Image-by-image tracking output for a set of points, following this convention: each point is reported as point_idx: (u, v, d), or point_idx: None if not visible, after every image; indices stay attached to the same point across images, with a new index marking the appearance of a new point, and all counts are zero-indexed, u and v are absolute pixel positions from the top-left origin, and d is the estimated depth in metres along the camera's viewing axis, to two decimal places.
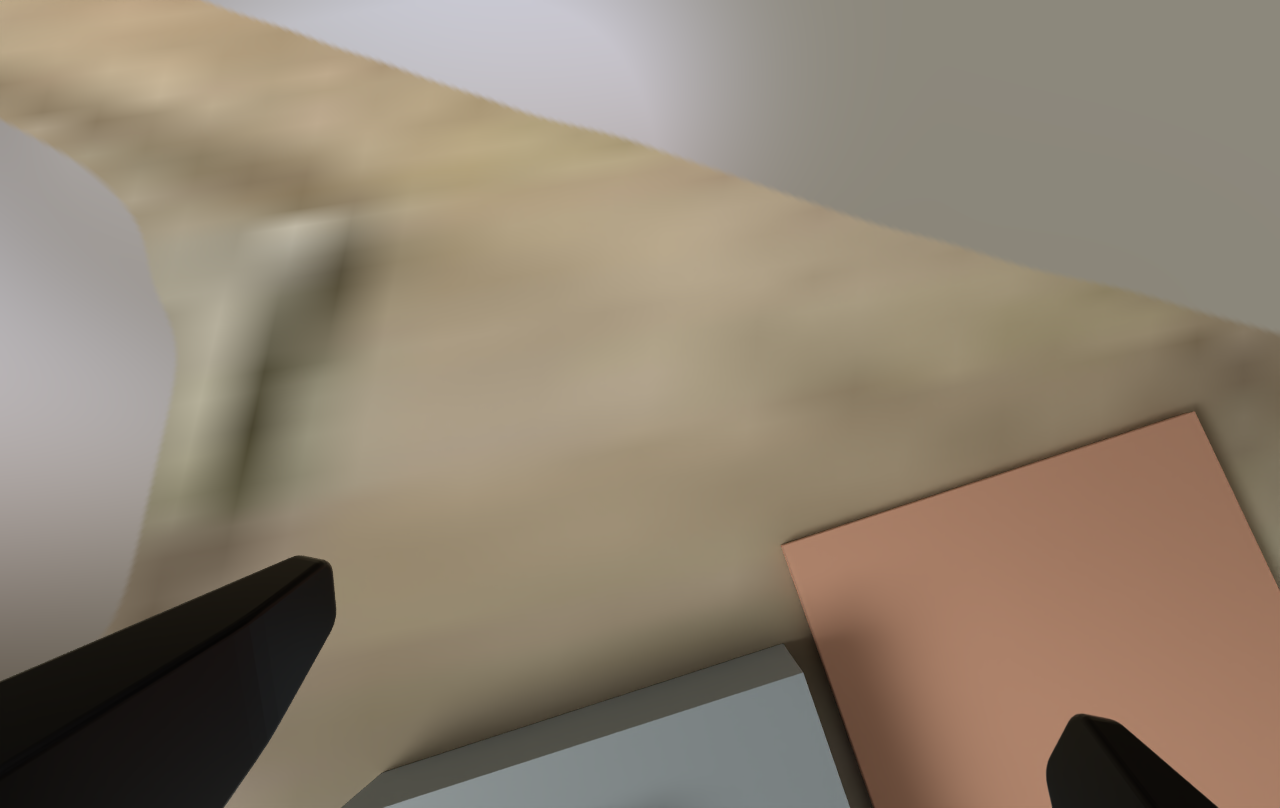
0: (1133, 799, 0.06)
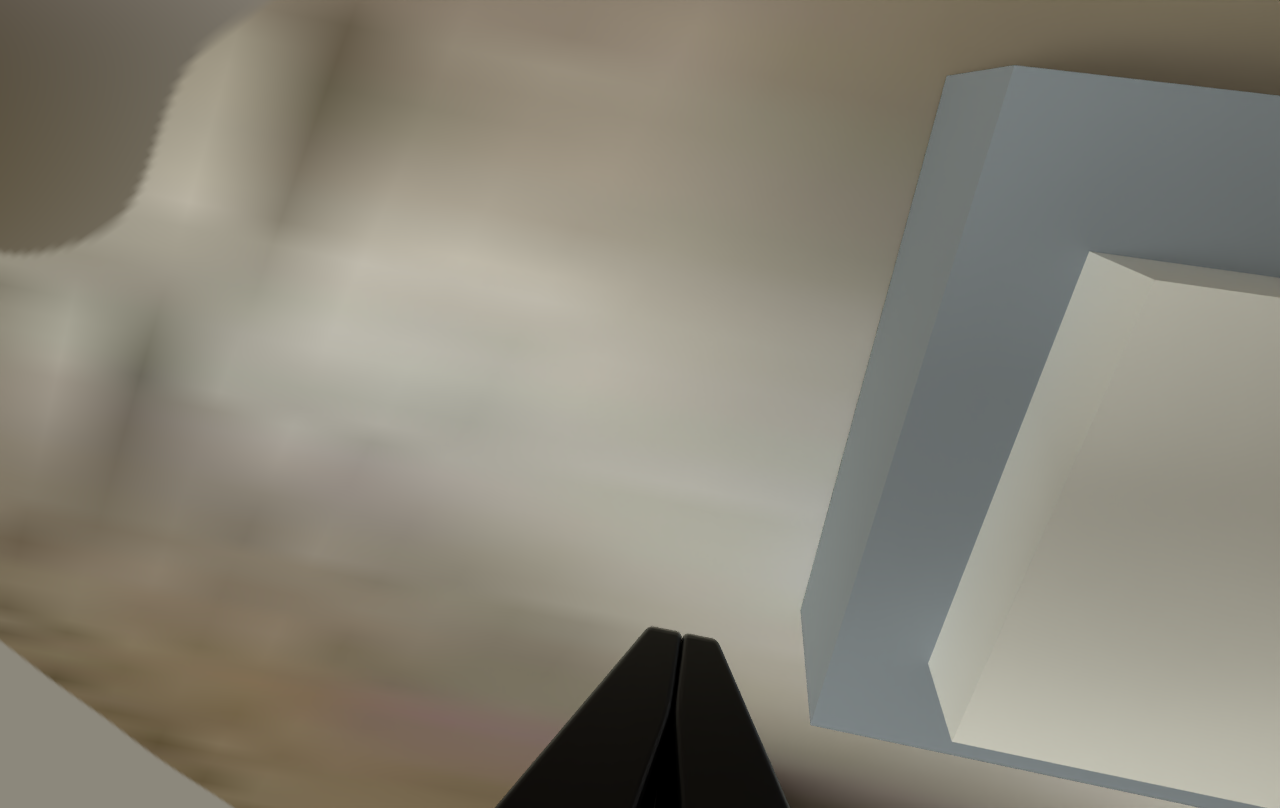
0: (674, 702, 0.07)
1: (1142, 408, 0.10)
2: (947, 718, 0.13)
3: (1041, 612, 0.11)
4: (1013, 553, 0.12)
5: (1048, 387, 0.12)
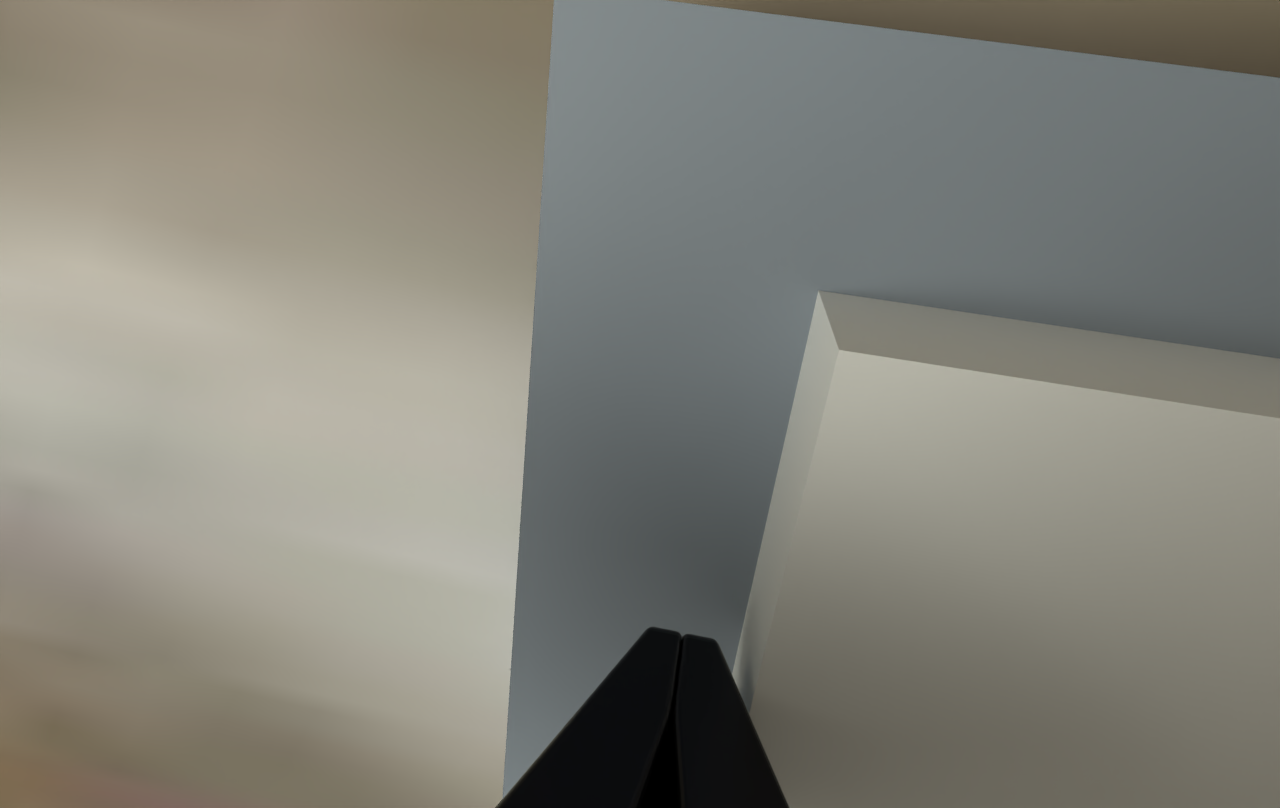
0: (674, 701, 0.07)
1: (856, 549, 0.06)
2: None
3: None
4: None
5: (778, 489, 0.08)
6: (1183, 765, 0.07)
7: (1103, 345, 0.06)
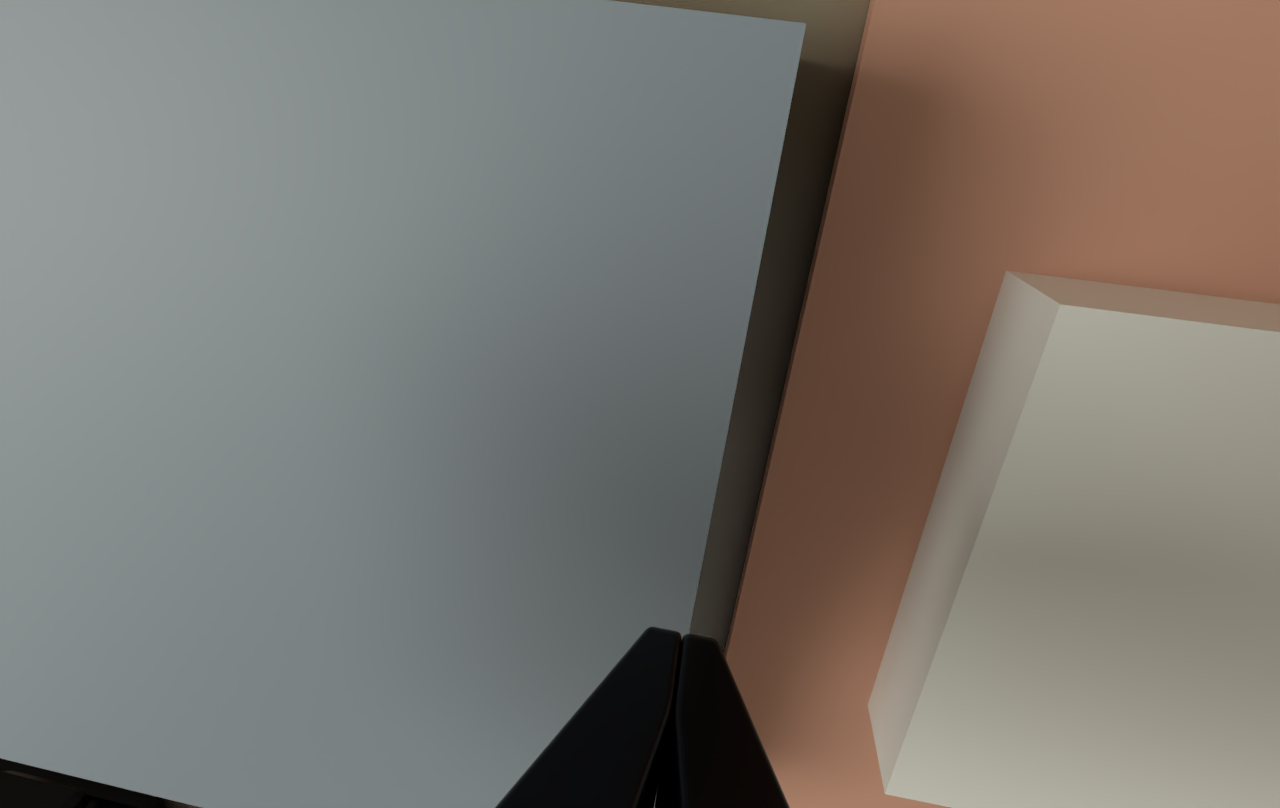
0: (674, 701, 0.07)
1: None
2: None
3: None
4: None
5: None
6: None
7: None
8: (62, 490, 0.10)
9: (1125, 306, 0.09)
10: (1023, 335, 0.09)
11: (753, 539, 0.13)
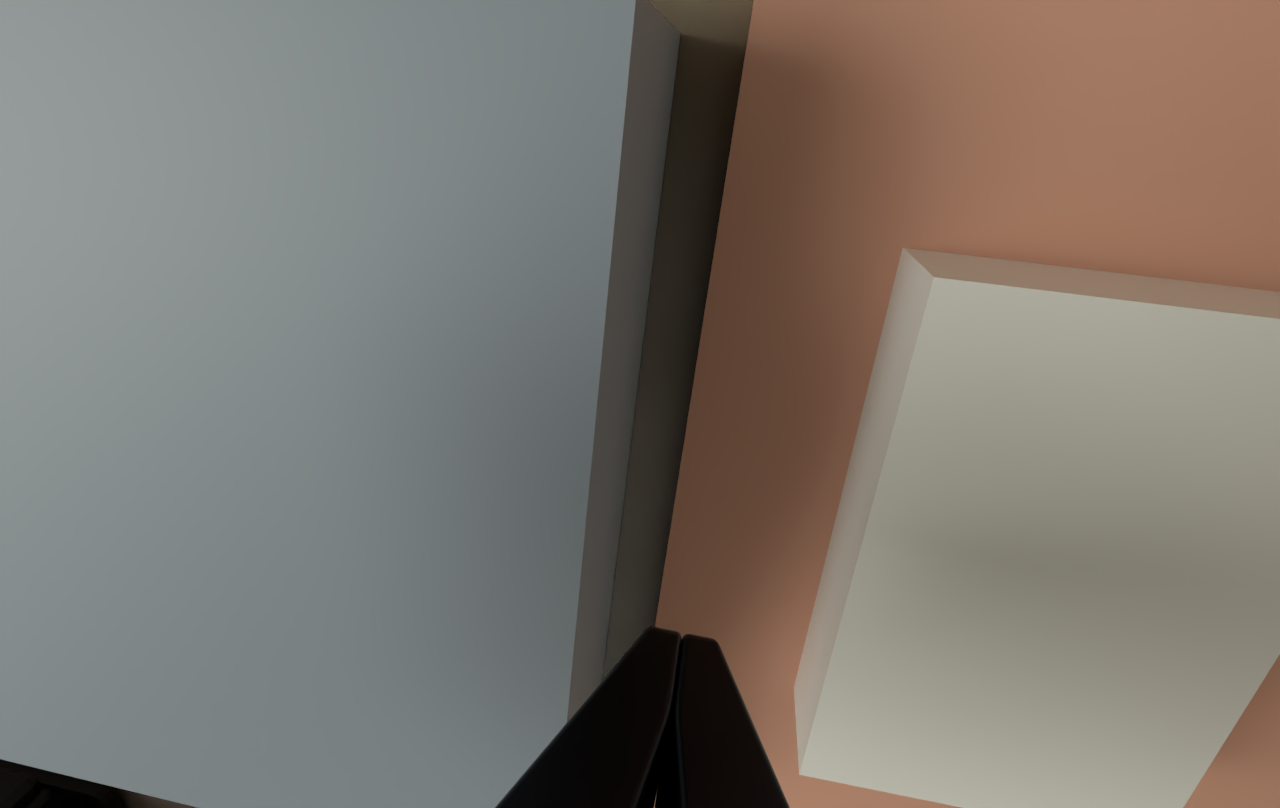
0: (674, 702, 0.07)
1: None
2: None
3: None
4: None
5: None
6: None
7: (1195, 300, 0.09)
8: None
9: (1002, 279, 0.09)
10: (909, 311, 0.09)
11: (672, 521, 0.13)
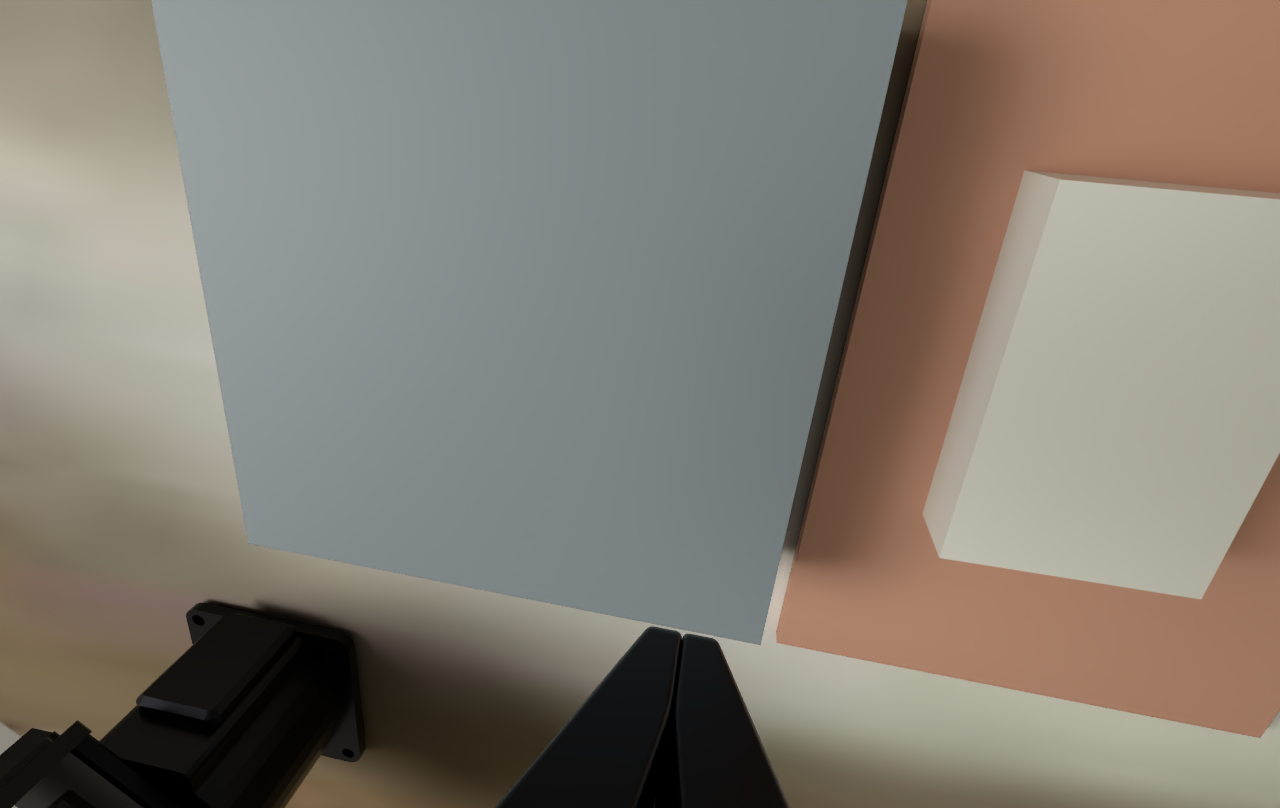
0: (674, 701, 0.07)
1: None
2: None
3: None
4: None
5: None
6: None
7: (1230, 193, 0.13)
8: (383, 331, 0.15)
9: (1103, 181, 0.13)
10: (1036, 207, 0.14)
11: (839, 382, 0.18)
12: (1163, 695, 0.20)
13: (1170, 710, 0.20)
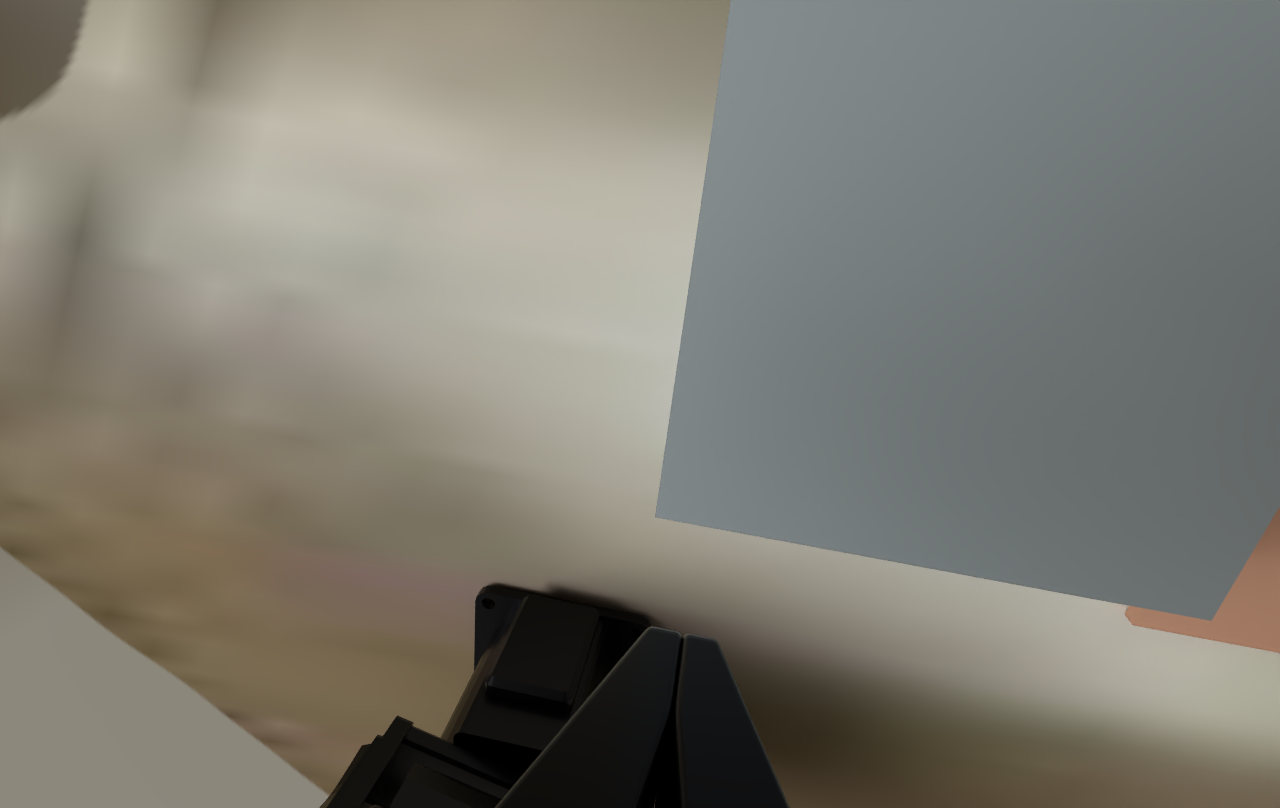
0: (674, 702, 0.07)
1: None
2: None
3: None
4: None
5: None
6: None
7: None
8: (890, 295, 0.15)
9: None
10: None
11: None
12: None
13: None
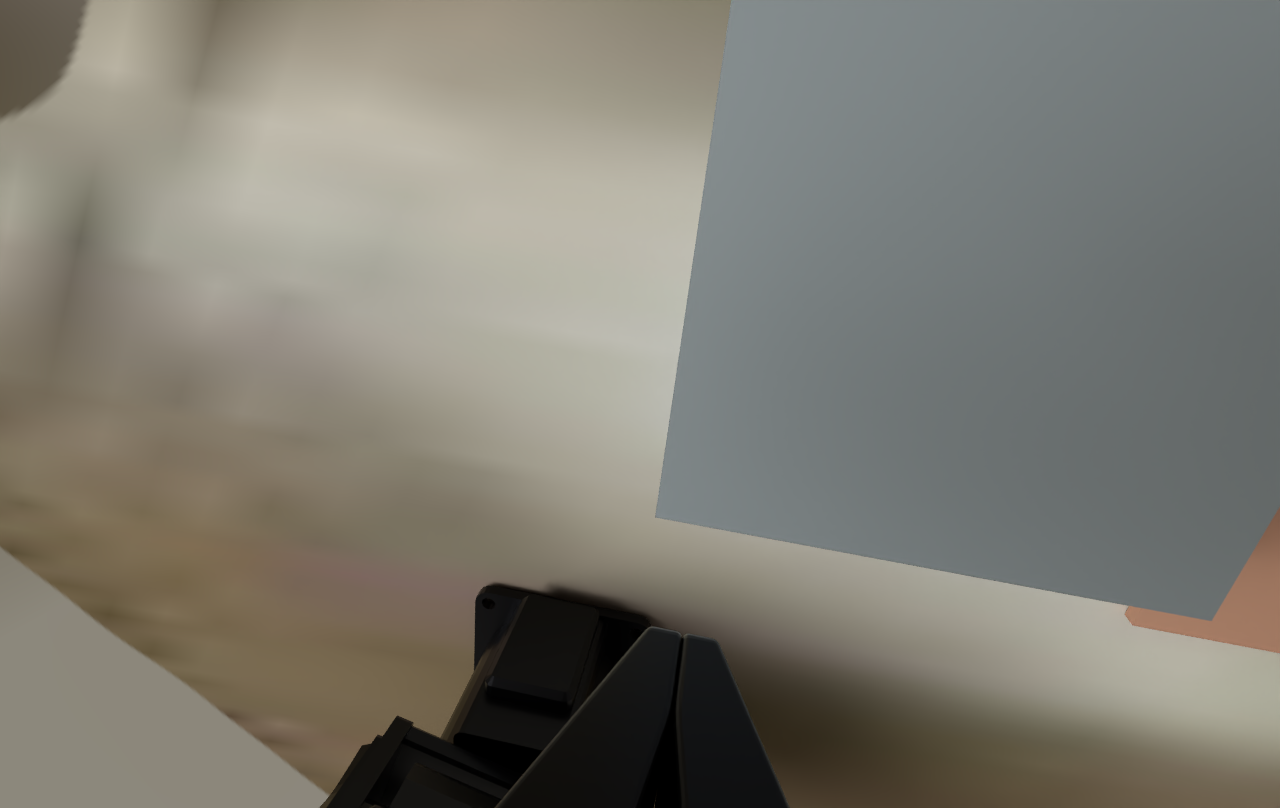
0: (674, 702, 0.07)
1: None
2: None
3: None
4: None
5: None
6: None
7: None
8: (890, 295, 0.15)
9: None
10: None
11: None
12: None
13: None
